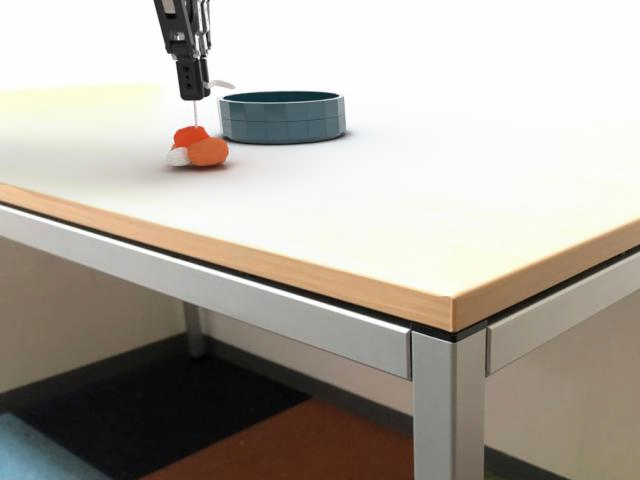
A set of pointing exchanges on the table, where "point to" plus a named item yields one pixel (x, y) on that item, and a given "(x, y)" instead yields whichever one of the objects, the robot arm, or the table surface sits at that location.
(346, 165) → the table surface
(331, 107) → the bowl
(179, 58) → the robot arm
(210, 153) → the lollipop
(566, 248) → the table surface
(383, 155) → the table surface
